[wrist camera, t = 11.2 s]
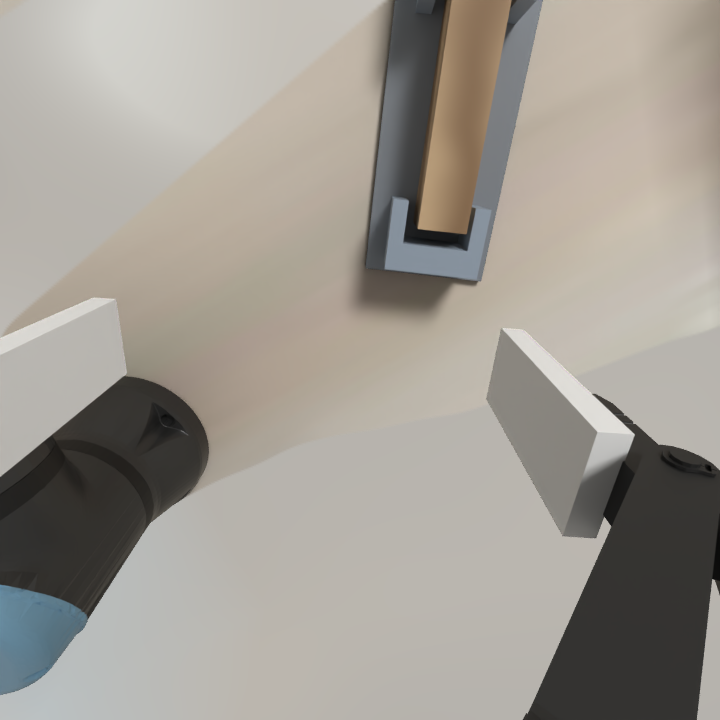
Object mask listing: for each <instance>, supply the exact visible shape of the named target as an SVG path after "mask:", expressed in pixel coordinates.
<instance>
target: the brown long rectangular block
mask: <svg viewBox="0 0 720 720" xmlns="http://www.w3.org/2000/svg"><path fill="white" fill-rule="evenodd" d="M511 1H512V0H445V4H444V11H443V18H442V25H441V32H440V39H439V45H438V52H437V59H436V66H435V73H434V80H433V87H432V94H431V101H430V108H429V115H428V122H427V129H426V136H425V143H424V150H423V157H422V164H421V171H420V178H419V185H418V192H417V199H416V206H415V213H414V220H413V222H414V224H415V225H416V227H417V228H418V229H423V230H432V231H441V232H450V233H459V234H467V229H468V224H469V219H470V214H471V208H472V203H473V198H474V193H475V188H476V182H477V177H478V172H479V167H480V162H481V157H482V151H483V146H484V141H485V136H486V131H487V125H488V120H489V115H490V110H491V105H492V100H493V94H494V89H495V84H496V79H497V74H498V68H499V63H500V58H501V53H502V48H503V42H504V37H505V32H506V27H507V22H508V17H509V11H510V6H511Z"/></svg>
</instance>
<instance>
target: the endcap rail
mask: <svg viewBox="0 0 720 720" xmlns="http://www.w3.org/2000/svg"><path fill="white" fill-rule="evenodd" d="M542 2H543V0H512V1H511V6H510V11H509V17H508V22H507V27H506V32H505V37H504V42H503V48H502V53H501V58H500V63H499V68H498V74H497V79H496V84H495V89H494V94H493V100H492V105H491V110H490V115H489V120H488V125H487V131H486V136H485V141H484V146H483V151H482V157H481V162H480V167H479V172H478V177H477V182H476V188H475V193H474V198H473V203H472V208H471V214H470V219H469V224H468V229H467V234H459V233H450V232H441V231H432V230H423V229H418V228H417V227H416V225H415V224H414V222H413V220H414V213H415V206H416V199H417V192H418V185H419V178H420V171H421V164H422V157H423V150H424V143H425V136H426V129H427V122H428V115H429V108H430V101H431V94H432V87H433V80H434V73H435V66H436V59H437V52H438V45H439V39H440V32H441V25H442V18H443V11H444V4H445V0H395V5H394V15H393V24H392V33H391V42H390V51H389V60H388V69H387V78H386V87H385V96H384V105H383V114H382V123H381V132H380V141H379V150H378V159H377V168H376V177H375V186H374V195H373V204H372V214H371V223H370V232H369V241H368V250H367V259H366V268H368V269H377V270H386V271H394V272H403V273H412V274H420V275H429V276H438V277H446V278H455V279H464V280H472V281H481V279H482V274H483V270H484V265H485V261H486V256H487V252H488V247H489V243H490V238H491V234H492V229H493V224H494V220H495V215H496V211H497V206H498V202H499V197H500V193H501V188H502V184H503V179H504V174H505V170H506V165H507V161H508V156H509V152H510V147H511V143H512V138H513V133H514V129H515V124H516V120H517V115H518V111H519V106H520V102H521V97H522V93H523V88H524V83H525V79H526V74H527V70H528V65H529V61H530V56H531V52H532V47H533V42H534V38H535V33H536V29H537V24H538V20H539V15H540V11H541V6H542Z"/></svg>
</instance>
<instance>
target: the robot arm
mask: <svg viewBox="0 0 720 720" xmlns="http://www.w3.org/2000/svg"><path fill="white" fill-rule="evenodd" d="M126 374H127V370H126V363H125V356H124V349H123V343H122V336H121V329H120V322H119V315H118V308H117V302H116V299H108V298H94V297H93V298H91V299H88V300H86V301H84V302H82V303H79V304H77V305H75V306H72V307H70V308H68V309H65V310H63V311H61V312H59V313H56V314H54V315H52V316H49V317H47V318H45V319H43V320H40V321H38V322H36V323H33V324H31V325H29V326H26V327H24V328H22V329H20V330H17V331H15V332H13V333H10V334H8V335H6V336H3V337H1V338H0V695H3V694H7V693H11V692H15V691H18V690H20V689H22V688H25V687H27V686H29V685H31V684H33V683H34V682H36V681H37V680H38V679H40V678H41V677H42V676H43V675H45V674H46V673H47V672H48V671H49V670H50V669H51V668H52V666H53V665H54V663H55V662H56V661H57V660H58V658H59V657H60V656H61V654H62V653H63V651H64V650H65V649H66V648H67V646H68V645H69V643H70V642H71V641H72V640H73V638H74V637H75V636H76V634H78V633H79V632H80V631H82V630H83V628H84V627H85V625H86V623H87V620H88V618H89V617H90V615H91V614H92V612H93V611H94V609H95V607H96V606H97V604H98V603H99V601H100V600H101V598H102V597H103V595H104V593H105V592H106V590H107V589H108V587H109V586H110V584H111V583H112V581H113V579H114V578H115V576H116V574H117V573H118V572H119V570H120V569H121V567H122V565H123V564H124V562H125V561H126V559H127V558H128V556H129V555H130V553H131V551H132V550H133V548H134V547H135V545H136V544H137V542H138V541H139V539H140V537H141V536H142V534H143V533H144V531H145V530H146V528H147V527H148V525H149V524H150V523H151V522H152V521H153V520H155V519H156V518H157V517H158V516H160V515H161V514H162V513H163V512H165V511H166V510H167V509H169V508H170V507H171V506H172V505H174V504H176V503H177V502H179V501H180V500H182V499H183V498H184V497H186V496H187V495H188V494H189V493H190V491H191V490H192V489H193V488H194V487H195V485H196V483H197V482H198V480H199V478H200V477H201V475H202V473H203V472H204V470H205V467H206V465H207V461H208V454H209V447H208V440H207V436H206V433H205V430H204V428H203V426H202V424H201V422H200V420H199V419H198V417H197V416H196V414H195V413H194V412H193V410H192V409H191V408H190V407H189V406H188V405H187V404H186V403H185V402H184V401H183V400H182V399H181V398H179V397H178V396H177V395H175V394H174V393H172V392H171V391H169V390H168V389H166V388H164V387H162V386H160V385H158V384H156V383H153V382H150V381H147V380H144V379H140V378H135V377H126V376H124V375H126ZM486 399H487V401H488V403H489V405H490V406H491V408H492V410H493V412H494V414H495V415H496V417H497V419H498V421H499V423H500V424H501V426H502V428H503V430H504V432H505V433H506V435H507V437H508V439H509V441H510V442H511V444H512V446H513V447H514V449H515V451H516V453H517V455H518V457H519V458H520V460H521V462H522V464H523V466H524V467H525V469H526V471H527V473H528V475H529V476H530V478H531V480H532V481H533V484H534V485H535V487H536V489H537V491H538V492H539V494H540V496H541V498H542V500H543V502H544V503H545V505H546V507H547V509H548V510H549V512H550V514H551V516H552V518H553V519H554V521H555V523H556V525H557V527H558V528H559V530H560V532H561V534H562V536H569V537H584V538H596V537H597V534H598V532H599V529H600V526H601V524H602V521H603V518H604V517H605V518H606V519H607V521H608V522H609V524H610V525H611V529H610V531H609V534H608V536H607V538H606V540H605V543H604V545H603V547H602V549H601V552H600V554H599V556H598V559H597V560H596V563H595V565H594V567H593V570H592V572H591V574H590V576H589V578H588V581H587V583H586V585H585V587H584V590H583V592H582V594H581V596H580V599H579V601H578V603H577V605H576V607H575V610H574V612H573V614H572V617H571V619H570V621H569V623H568V625H567V628H566V630H565V632H564V634H563V637H562V639H561V641H560V643H559V646H558V648H557V650H556V653H555V655H554V657H553V659H552V661H551V663H550V666H549V668H548V670H547V672H546V675H545V677H544V679H543V681H542V684H541V686H540V688H539V691H538V693H537V695H536V697H535V699H534V702H533V704H532V706H531V708H530V710H529V712H528V714H527V713H526V715H525V717H524V719H523V720H697V711H698V703H699V694H700V684H701V675H702V666H703V657H704V648H705V639H706V629H707V620H708V612H709V611H708V610H709V602H710V593H711V584H712V579H714V580H715V582H716V585H717V588H718V591H719V594H720V470H719V469H718V468H717V467H716V466H714V465H713V464H712V463H711V462H709V461H707V460H706V459H704V458H702V457H700V456H699V455H696V454H694V453H691V452H689V451H687V450H684V449H680V448H676V447H673V446H666V445H658V444H657V443H656V442H655V441H654V440H653V439H651V438H650V437H649V436H648V435H647V434H646V433H645V432H644V431H643V430H642V429H640V428H639V427H638V426H637V425H636V424H633V421H632V420H630V419H629V418H628V417H627V416H624V413H622V411H620V410H619V409H618V408H617V407H616V406H615V405H614V404H613V403H611V402H609V401H607V400H605V399H604V398H602V397H600V396H598V395H596V394H591V393H590V392H589V391H588V390H587V389H586V388H585V387H584V386H583V385H582V384H581V383H580V382H579V381H577V380H576V379H575V378H574V377H573V376H572V375H571V374H570V373H569V372H568V371H567V370H566V369H565V368H564V367H563V366H562V365H560V364H559V363H558V362H557V361H556V360H555V359H554V358H553V357H552V356H551V355H550V354H549V353H548V352H547V351H546V350H545V349H543V348H542V347H541V346H540V345H539V344H538V343H537V342H536V341H535V340H534V339H533V338H532V337H531V336H530V335H529V334H528V333H527V332H525V331H524V330H522V329H509V328H501V332H500V337H499V342H498V346H497V351H496V356H495V360H494V365H493V370H492V375H491V379H490V384H489V389H488V394H487V398H486Z"/></svg>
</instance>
